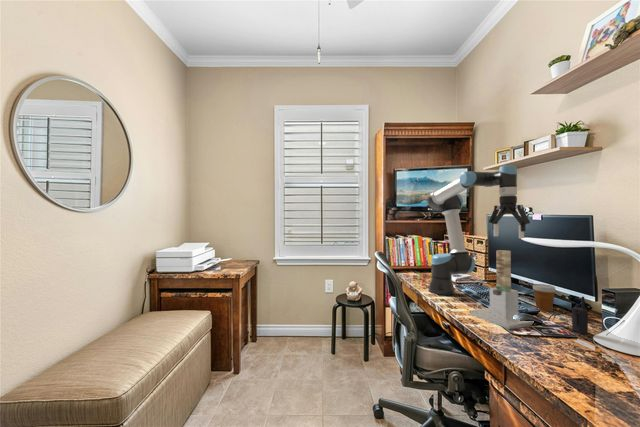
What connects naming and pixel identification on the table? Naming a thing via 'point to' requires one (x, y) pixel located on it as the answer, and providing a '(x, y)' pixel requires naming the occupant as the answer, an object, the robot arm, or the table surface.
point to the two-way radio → (580, 318)
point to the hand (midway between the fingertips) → (508, 237)
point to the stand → (502, 309)
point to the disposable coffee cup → (544, 296)
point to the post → (503, 270)
